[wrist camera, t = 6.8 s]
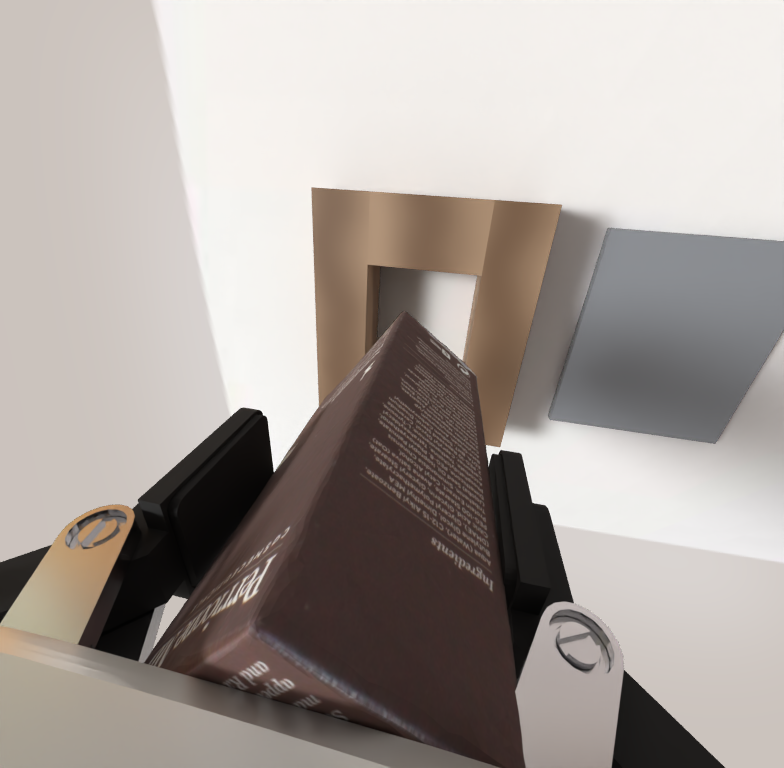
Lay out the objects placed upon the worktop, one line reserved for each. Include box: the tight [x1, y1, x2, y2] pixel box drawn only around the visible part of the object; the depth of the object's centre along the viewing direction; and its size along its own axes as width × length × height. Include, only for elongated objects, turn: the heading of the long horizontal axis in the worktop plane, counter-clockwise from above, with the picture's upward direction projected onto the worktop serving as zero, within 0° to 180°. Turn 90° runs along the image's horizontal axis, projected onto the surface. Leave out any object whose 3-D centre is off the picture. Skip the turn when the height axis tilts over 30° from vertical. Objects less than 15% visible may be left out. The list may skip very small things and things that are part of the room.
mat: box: [548, 228, 784, 444], centre depth 24 cm, size 12×14×1 cm
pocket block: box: [312, 188, 562, 447], centre depth 25 cm, size 14×16×4 cm
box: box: [144, 311, 526, 768], centre depth 10 cm, size 6×4×12 cm
